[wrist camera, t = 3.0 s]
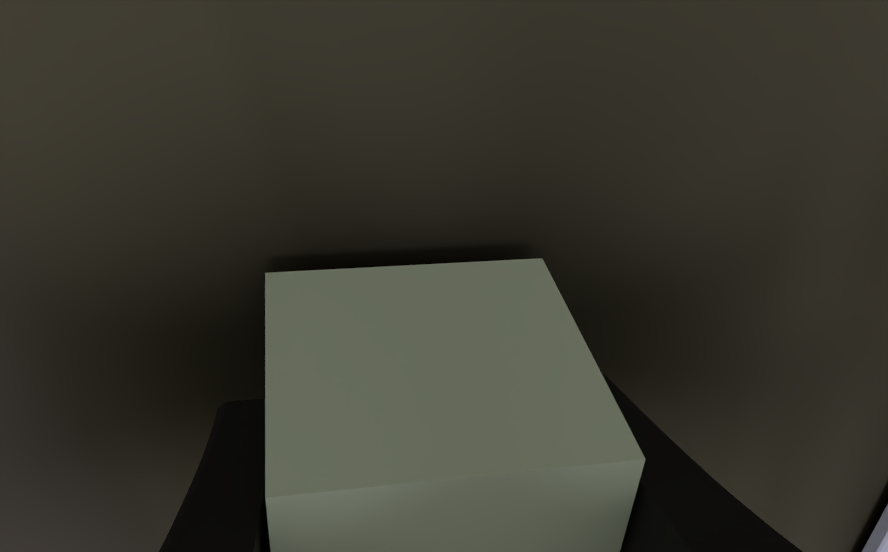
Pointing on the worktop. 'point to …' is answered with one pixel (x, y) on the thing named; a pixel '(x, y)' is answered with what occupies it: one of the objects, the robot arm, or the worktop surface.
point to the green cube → (438, 414)
